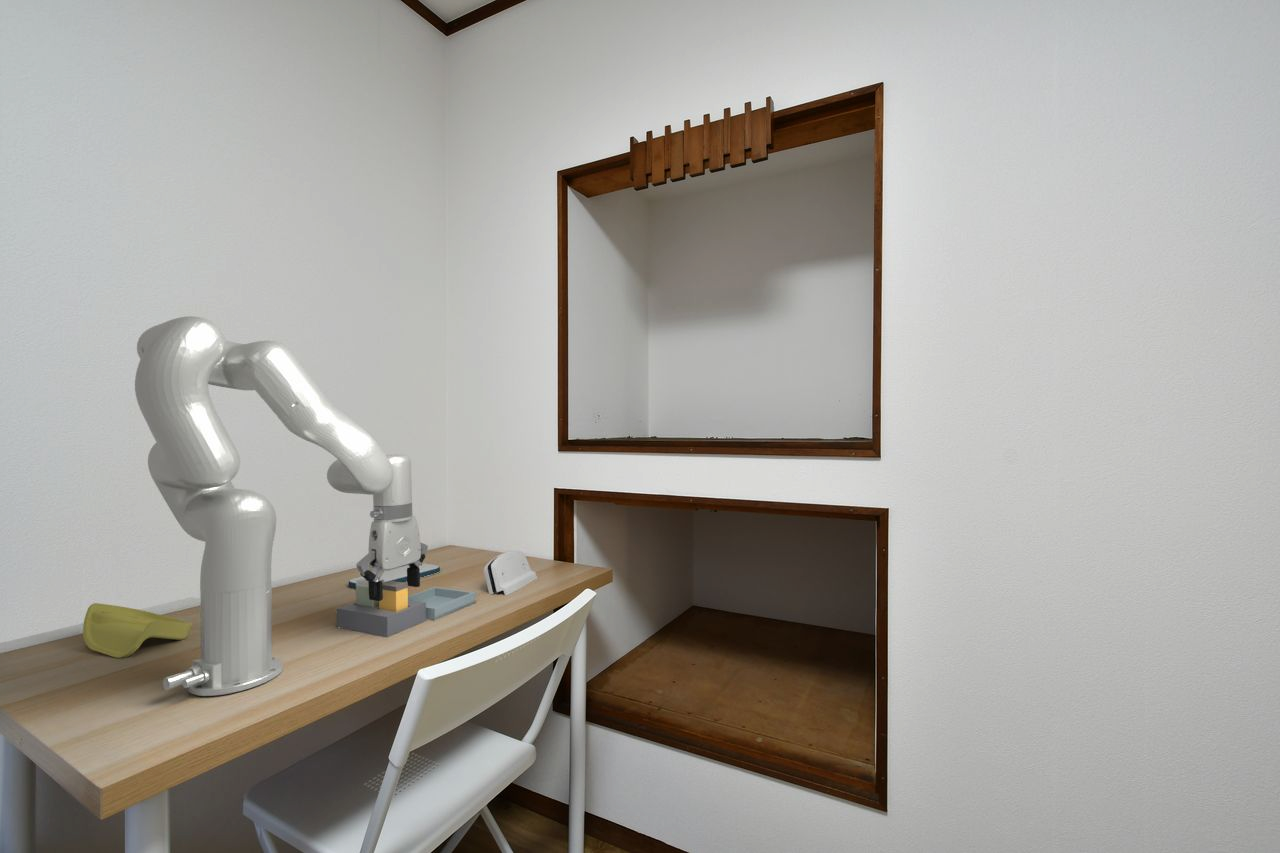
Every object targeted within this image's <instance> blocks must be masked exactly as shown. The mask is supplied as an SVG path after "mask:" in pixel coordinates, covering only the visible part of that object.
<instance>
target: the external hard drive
mask: <svg viewBox="0 0 1280 853" xmlns="http://www.w3.org/2000/svg"><path fill="white" fill-rule="evenodd" d="M407 568H410V567H409V566H408V565H406V566H402V567H399V568H396V569H392V570H385V571H384V573H383V574H382V576H381V578H380V579H382V580H384V583H385V582H388V581H396V582H405V583H407V582H406V581H407ZM419 569H420V577H423V578H425V577H424V576H427V575H431V574H434V573H437V572H439V571H440V572H441V567H440V565H437V564H433V563H432V564H431V563H426V562H422V567H421V568H419ZM440 572H439V573H440ZM375 574H376V572H375ZM437 574H438V573H437ZM434 575H435V574H434ZM431 576H432V575H431ZM427 577H428V576H427ZM361 579H365V578H364V577H362V576H361V575H360V576H357V577H354V578H352V579H349V581H348V588H350V589H353V588H354V589H353V590H356V581H358V580H361Z"/></svg>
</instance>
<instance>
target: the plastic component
mask: <svg viewBox="0 0 1280 853" xmlns="http://www.w3.org/2000/svg"><path fill="white" fill-rule="evenodd" d="M193 624H194V623H192V622H189V621H184V620H181V619H178V618H173V617H169V616H166V615H163V614H158V613H155V612H151V611H146V610H143V609H136V608H130V607H125V606H119V605H114V604H113V605H112V604H107V603H98V602H94V603H92V604H90V605H89V606H88V607H87V610H86V612H85V616H84V620H83V624H82V634H83V635H82V636H83V640H84V643H85V645H87V647H88V648H89V649H91V650H92V651H94V652H98V653H101V654H104V655H107V656H111V657H114V658H117V659H121V658H127V657H130V656H131V655H133V654H135V652H136V651H137V650H138V649H139V648H140V647H141V645H142V644H143V642H145V641H146V640H147V639H152V638H155V639H156V638H157V639H167V640H175V641H176V640H178V641H182V640H185V639H186V638H187V637H188V635H189V632H190V630H191V629H192V627H193Z"/></svg>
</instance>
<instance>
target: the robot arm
mask: <svg viewBox="0 0 1280 853" xmlns="http://www.w3.org/2000/svg"><path fill="white" fill-rule="evenodd" d="M136 352H137V355H138V357H139V359H140V360H139V362H138V365H137V368H136V372H135V379H134V392H135V397H136V401H137V404H138V407H139V410H140V411H141V414H142V416H143V418H144V420H145V422H146V424H147V426H148V428H149V430H150V433H151V435H152V436H153V438H154V440H155V443H154V444H153V445H152V447H151V448H150V450H149V452H148V456H147V465H148V466H147V467H148V471H149V474H150V477H151V478H152V480H153V482H154V484H155V486H156V488H157V489H158V491H159V493H160V495H161V496H162V498H163V499H164V501H165V503H166V505H167V507H168V508H169V509H170V512H171V513H172V514H173V516H174V518H175V520H176V521H177V522H178V524H179V526H180V527H181V528H182V530H183V531H184V532H185V533H186V534H187V535H189V536H190V537H191V538H193V539H196V540H198V541H200V542H204V550H203V553H202V554H203V555H202V559H201V563H200V564H201V565H200V573H199V575H200V577H199V578H200V581H199V586H200V587H199V588H200V589H199V591H200V595H199V597H200V657H199V658H197V659H193V660H192V663H193V664H192V666H190V667H188V668H187V669H186V671H183V672H180V673H179V672H178V673H176V674H172V675H169V676H166V677H164V678H163V679H162V680H163V681H162V686H163V689H164V690H165V691H169V690H172V689H174V688H177V687H180V686H182V687H183V688H184V689H188V692H189V693H190V694H192V695H195V696H198V697H199V696H201V697H212V696H213V697H214V696H223V695H229V694H233V693H238V692H242V691H245V690H246V691H247V690H248V689H252V688H255V687H257V686H260V685H263V684H265V683H267V682H269V681H271V680H272V679H274V678H276V677H277V676H278V675H279V674H281V673H282V671H283V669H284V664H283V663H284V662H283V660H282V659H281V658H278V657H274V656H273V647H272V646H273V642H272V641H273V640H272V639H273V638H272V637H273V630H272V629H273V628H272V622H273V621H272V618H273V617H272V616H273V615H272V613H273V612H272V605H273V604H272V555H273V545H274V540H275V534H276V528H277V514H276V511H275V506H273V504H272V503H271V501H270V500H269V499H268V498H267V497H266V496H264V495H262V494H261V493H259V492H256V491H254V490H250V489H245V488H244V489H242V488H235V487H234V485H233V483H232V480H233V479H234V478H235V477H236V476H237V474H238V473H239V470H240V468H241V458H240V454H239V451H238V450H237V448H236V445H235V444H234V442H233V440H232V438H231V437H230V435H229V433H228V431H227V429H226V427H225V425H224V424H223V422H222V420H221V417H220V416H219V415H218V413H217V410H216V408H215V406H214V403H213V401H212V398H211V394H210V390H209V386H216V387H221V388H227V389H233V390H237V391H238V390H240V391H255V392H256V394H258V396H259V398H261V399H262V400H263V401H264V402H265V404H267V406H268V407H269V409H271V411H272V412H273V413H274V414H275V415H276V417H277V418H278V420H280V422H281V424H283V426H285V428H286V429H287V430H288V431H289V432H290V433H292V434H294V435H295V436H297V437H298V438H300V439H303V440H304V441H307V442H309V443H311V444H314V445H315V446H318V447H320V448H322V449H324V450H325V451H326V452H328V453H329V454H331V455H332V456H333V457H335V458H336V460H334V461H333V462H332V463H331V464H330V465H329V467H328V468H327V471H326V479H327V482H328V484H329V486H331V487H332V488H333V489H334V490H336V491H338V492H341V493H346V494H355V495H370V496H371V495H372V500H373V505H372V506H373V510H371V511H370V513H369V515H370V518H372V519H373V521H371V524H370V529H369V535H368V537H369V538H368V553H366V555H365V556H364V557H362V558H361V559H360V560H359V561H358V562H357V563H356V564H355V565H356V568H357V570H358V571H359V573H360V577H361V576H362V577H364V578H365V580H366V581H368V583H369V599H370V600H375V601H381V600H382V599H383V588H382V581H379V580H380V578H381V576H382V574H383V573H384V571H386V570H392V569H396V568H399V567H403V566H407V565H408V566H409V567H410V568H407V582H406V583H408V587H411V588H412V587H414V588H419V587H420V586H421V578H420V569H419V568H421V567H422V563H424V560H425V558H426V553H427V552H428V549H429V546H428V544H426V543H422V542H421V536H420V530H419V524H418V521H417V518H416V516H415V515H413V492H412V491H413V490H412V462H411V458H410V457H409V456H408V455H406V454H401V453H400V454H386V453H385V452H384V451H383V450H382V449H383V448H381V447H380V445H379V444H378V442H377V441H376V440H375V439H374V438H373V437H372V435H371V434H370V433H368V432H367V431H366V430H365V429H364V428H363V427H361V426H360V425H359V424H357V422H354V421H355V420H352V419H351V418H350V417H349V416H348V415H346V414H345V413H344V412H342V411H341V410H339V409H338V408H336V407H335V405H334V404H333V403H332V402H331V401H330V400H329V398H327V396H326V394H325V393H324V392H323V391H322V389H321V388H320V387H319V386H318V384H317V383H316V382H315V381H314V379H313V378H312V376H311V375H310V374H309V372H308V371H307V370H306V368H305V367H304V366H303V365H302V364H301V362H300V361H299V359H298V358H297V356H296V355H294V353H293V352H292V350H291V349H289V348H288V347H287V346H286V345H285V344H282V343H281V342H278V341H275V340H258V341H254V342H248V343H238V342H234V341H228V340H226V339H225V336H224V334H223V332H222V330H221V329H220V328H219V327H218V325H217V324H215V323H214V322H212V321H211V320H208V319H206V318H204V317H200V316H191V315H190V316H181V317H176V318H172V319H169V320H167V321H165V322H161V323H158V324H157V325H154V326H152V327H149V328H148V329H146V330H145V331H144V332H143V333H141V335H140V336H139V337H138V339H137V343H136ZM369 567H370V569H369ZM375 573H376V574H375Z"/></svg>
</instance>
